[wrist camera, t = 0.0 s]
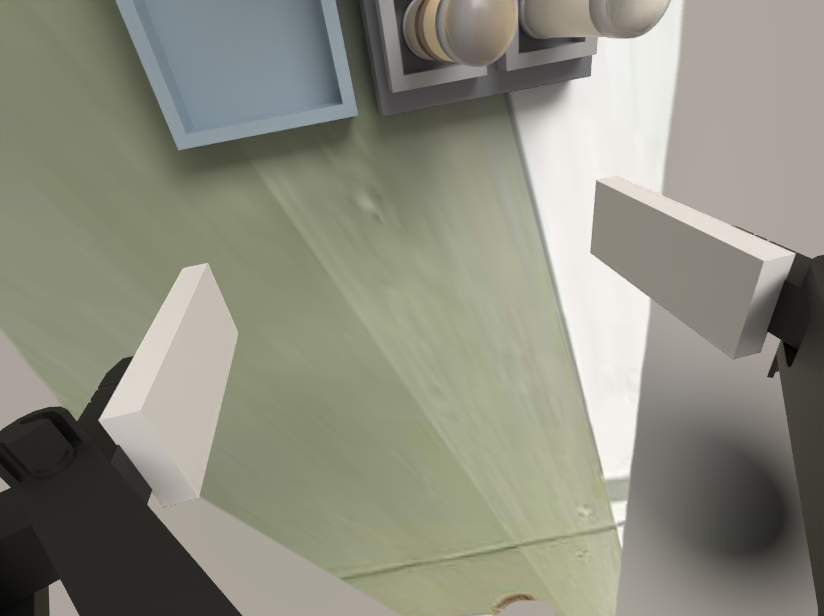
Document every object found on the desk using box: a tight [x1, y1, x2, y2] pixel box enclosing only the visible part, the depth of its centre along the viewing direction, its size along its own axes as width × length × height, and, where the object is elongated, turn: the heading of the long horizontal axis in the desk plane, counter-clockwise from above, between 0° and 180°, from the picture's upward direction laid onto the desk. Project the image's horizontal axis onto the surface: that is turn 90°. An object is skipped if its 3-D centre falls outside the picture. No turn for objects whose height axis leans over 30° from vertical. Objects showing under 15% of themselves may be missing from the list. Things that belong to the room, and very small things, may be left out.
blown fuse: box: [401, 0, 518, 67], centre depth 28 cm, size 4×4×12 cm
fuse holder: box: [359, 0, 671, 116], centre depth 30 cm, size 11×18×15 cm, turn 99°
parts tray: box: [115, 0, 358, 150], centre depth 32 cm, size 14×14×4 cm
